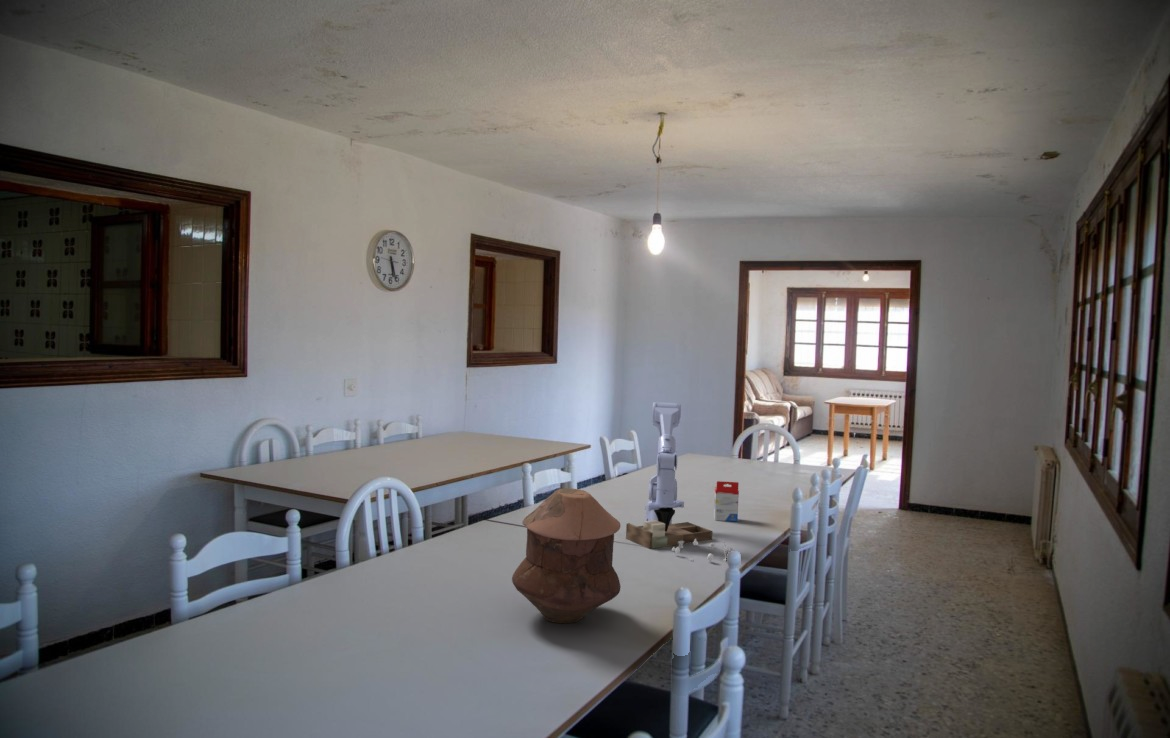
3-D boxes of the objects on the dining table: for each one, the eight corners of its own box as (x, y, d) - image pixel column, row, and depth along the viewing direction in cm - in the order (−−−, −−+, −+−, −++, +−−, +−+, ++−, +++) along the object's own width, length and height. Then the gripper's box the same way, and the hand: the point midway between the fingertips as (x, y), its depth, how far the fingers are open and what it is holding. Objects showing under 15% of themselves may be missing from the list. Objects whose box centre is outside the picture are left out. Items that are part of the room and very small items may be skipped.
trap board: (622, 536, 254) (623, 522, 254) (683, 529, 268) (684, 515, 267) (649, 548, 241) (650, 533, 241) (712, 539, 255) (712, 525, 255)
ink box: (736, 518, 287) (738, 480, 286) (737, 522, 282) (739, 482, 281) (713, 517, 287) (715, 478, 287) (714, 520, 282) (716, 481, 282)
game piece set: (734, 567, 227) (735, 554, 227) (667, 560, 231) (667, 548, 230) (734, 549, 246) (735, 537, 246) (672, 543, 250) (673, 532, 249)
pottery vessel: (539, 591, 198) (543, 476, 196) (633, 607, 188) (638, 487, 187) (491, 624, 174) (496, 494, 172) (596, 646, 164) (602, 508, 163)
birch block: (642, 533, 247) (643, 521, 247) (655, 532, 250) (655, 520, 250) (652, 537, 243) (652, 525, 243) (664, 536, 246) (665, 523, 246)
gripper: (655, 493, 241) (653, 536, 242) (690, 490, 249) (688, 531, 249) (641, 489, 247) (640, 530, 248) (677, 486, 255) (675, 526, 255)
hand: (663, 530), depth 249 cm, fingers closed
